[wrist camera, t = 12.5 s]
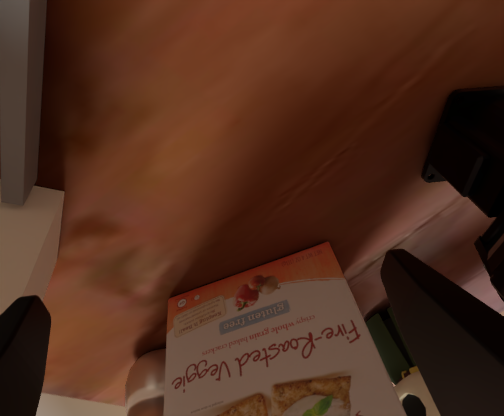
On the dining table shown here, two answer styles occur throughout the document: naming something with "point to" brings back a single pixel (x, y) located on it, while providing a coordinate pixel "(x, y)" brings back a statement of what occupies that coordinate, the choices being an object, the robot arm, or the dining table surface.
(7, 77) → the cabinet
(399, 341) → the character mug
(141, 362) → the plastic bottle
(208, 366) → the cracker box
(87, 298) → the dining table surface
